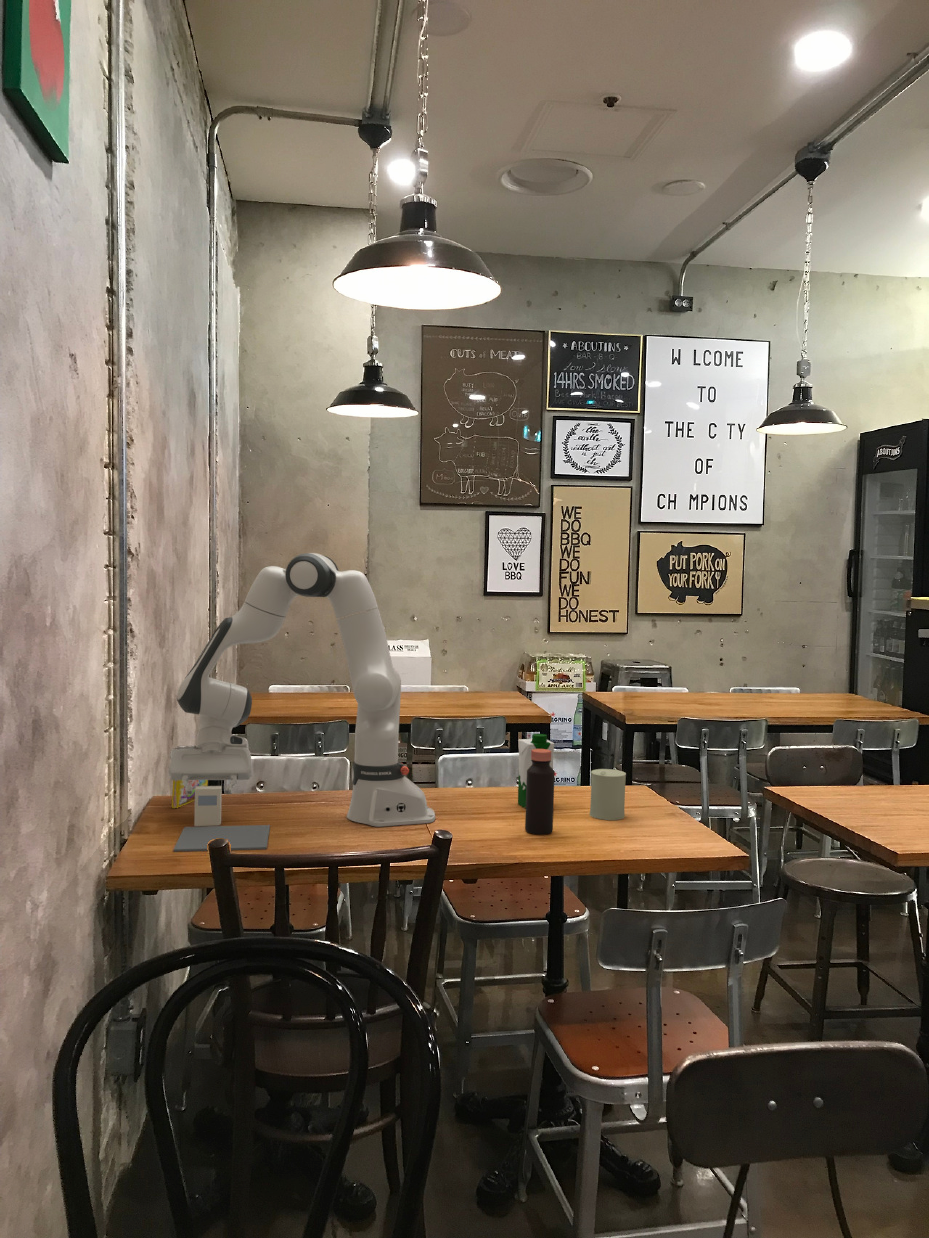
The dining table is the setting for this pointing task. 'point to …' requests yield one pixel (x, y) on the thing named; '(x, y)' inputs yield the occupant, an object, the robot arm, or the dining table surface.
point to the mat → (236, 835)
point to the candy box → (179, 792)
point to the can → (607, 794)
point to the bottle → (539, 793)
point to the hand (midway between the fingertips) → (208, 793)
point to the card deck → (208, 805)
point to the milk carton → (525, 761)
